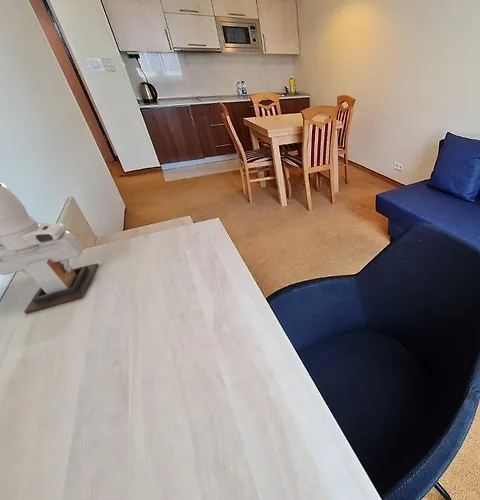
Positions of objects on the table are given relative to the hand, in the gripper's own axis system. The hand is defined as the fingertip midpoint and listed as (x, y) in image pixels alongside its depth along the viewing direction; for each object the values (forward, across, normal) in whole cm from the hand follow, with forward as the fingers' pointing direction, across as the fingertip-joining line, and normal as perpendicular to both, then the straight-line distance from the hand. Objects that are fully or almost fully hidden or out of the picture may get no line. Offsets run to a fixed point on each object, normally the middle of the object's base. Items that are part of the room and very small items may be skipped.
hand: (55, 274), depth 92 cm
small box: (+4, 0, 0) cm, 4 cm away
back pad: (+5, 0, 0) cm, 5 cm away
